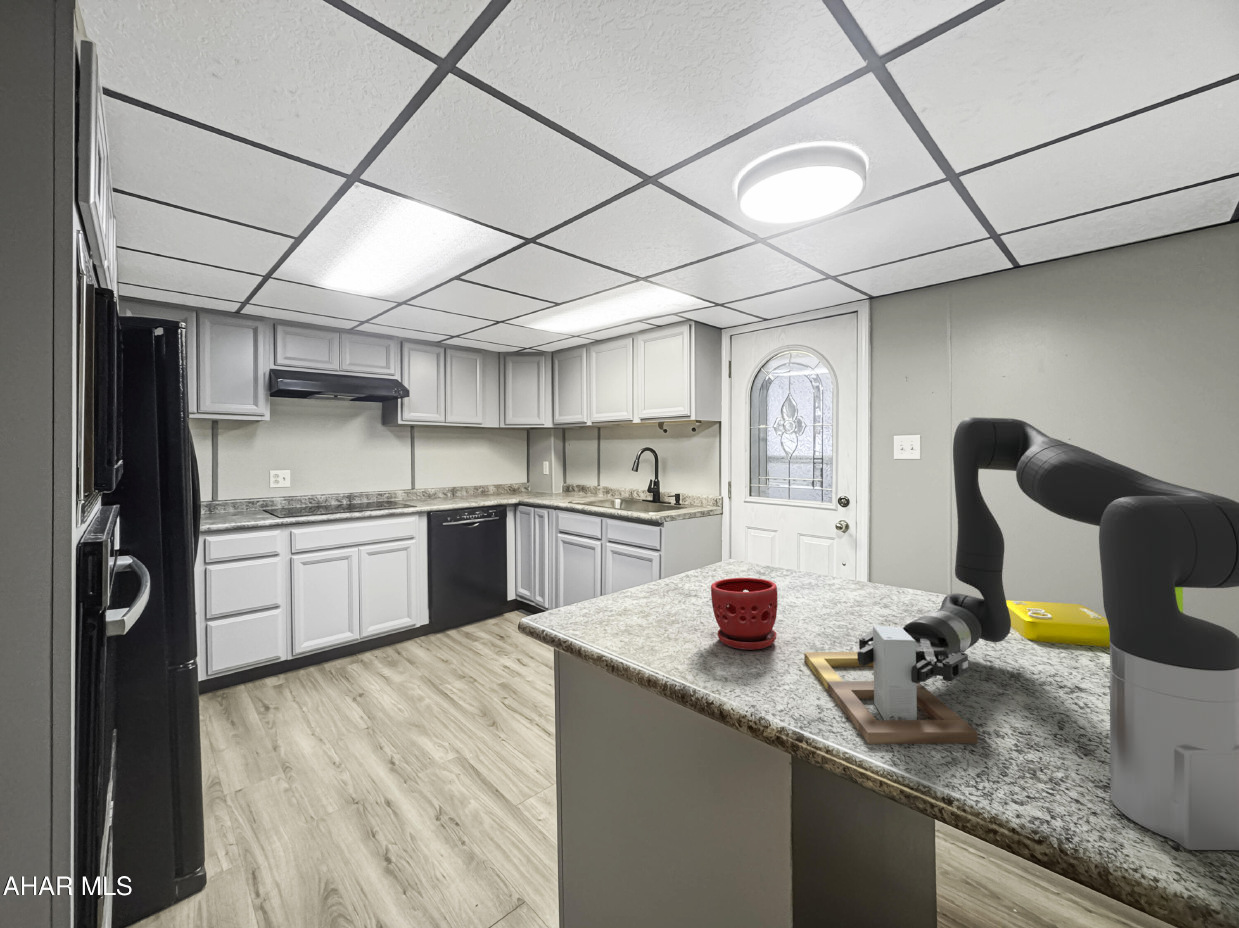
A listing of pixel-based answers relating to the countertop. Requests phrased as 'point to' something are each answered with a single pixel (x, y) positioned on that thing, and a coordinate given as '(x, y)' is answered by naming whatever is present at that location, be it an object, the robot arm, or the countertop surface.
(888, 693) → the skincare box
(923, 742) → the double wooden frame
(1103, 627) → the element tile
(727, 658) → the countertop surface
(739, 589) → the plant pot
